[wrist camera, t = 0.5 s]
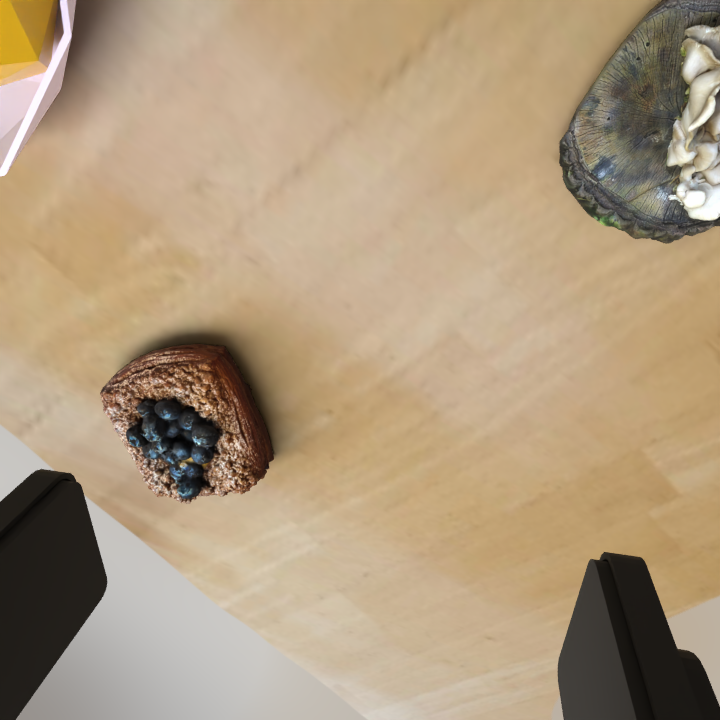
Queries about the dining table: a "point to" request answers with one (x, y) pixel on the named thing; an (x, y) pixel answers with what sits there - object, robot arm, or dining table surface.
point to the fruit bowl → (30, 67)
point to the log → (653, 128)
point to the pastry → (189, 422)
